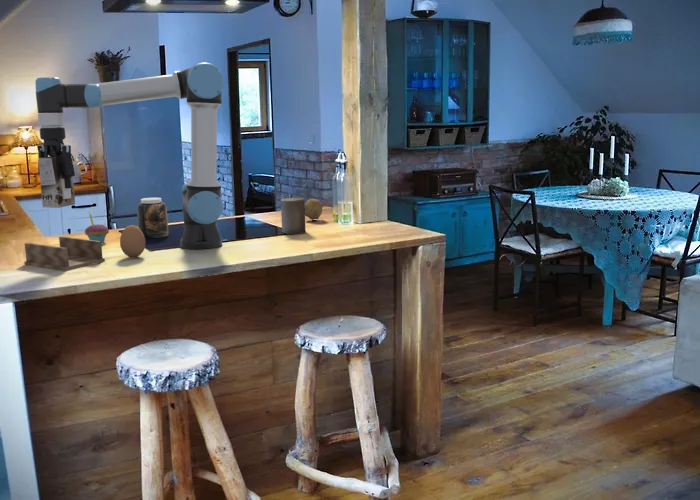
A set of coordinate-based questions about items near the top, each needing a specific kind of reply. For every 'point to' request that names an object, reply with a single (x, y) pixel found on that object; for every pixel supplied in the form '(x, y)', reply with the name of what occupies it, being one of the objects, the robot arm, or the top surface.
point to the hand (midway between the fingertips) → (58, 197)
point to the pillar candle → (293, 215)
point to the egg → (132, 241)
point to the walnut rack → (64, 254)
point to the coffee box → (53, 183)
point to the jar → (152, 218)
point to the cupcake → (96, 231)
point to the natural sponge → (313, 208)
